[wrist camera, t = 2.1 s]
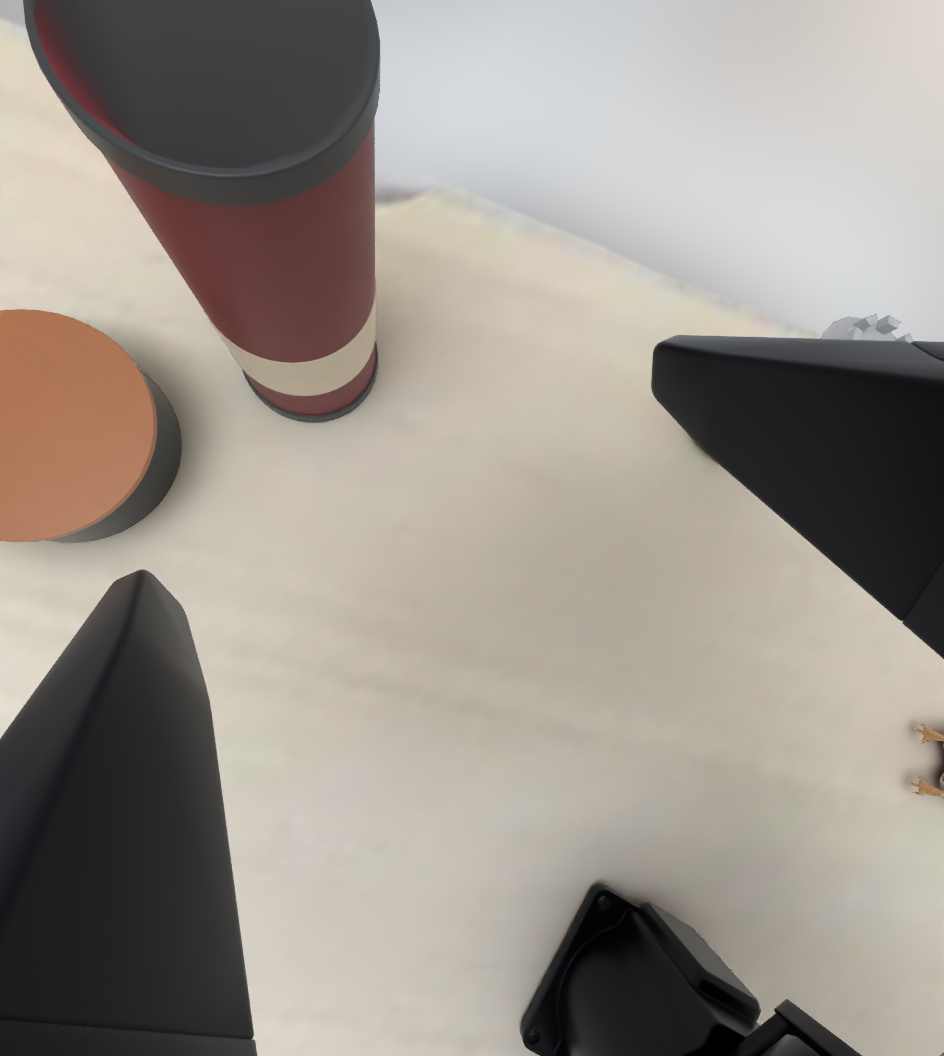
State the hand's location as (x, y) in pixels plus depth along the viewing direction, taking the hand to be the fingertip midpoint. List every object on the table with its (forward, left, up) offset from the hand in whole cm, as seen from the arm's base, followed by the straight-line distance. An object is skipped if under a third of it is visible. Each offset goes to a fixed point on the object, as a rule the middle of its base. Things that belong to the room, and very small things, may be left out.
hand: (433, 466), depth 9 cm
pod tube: (+4, +7, -13) cm, 16 cm away
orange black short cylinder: (-4, +12, -13) cm, 18 cm away
